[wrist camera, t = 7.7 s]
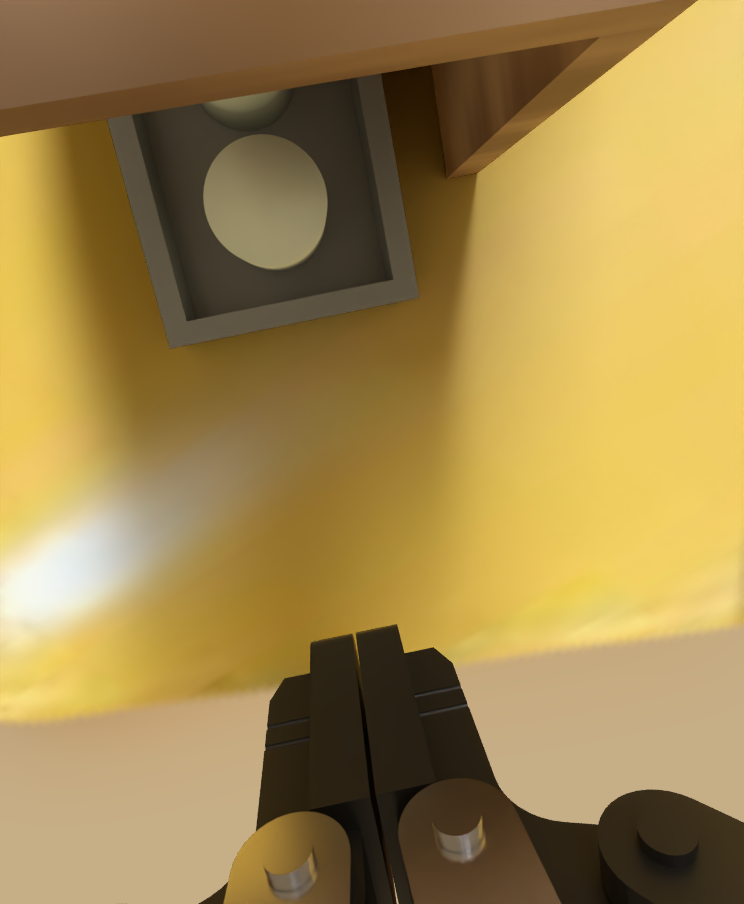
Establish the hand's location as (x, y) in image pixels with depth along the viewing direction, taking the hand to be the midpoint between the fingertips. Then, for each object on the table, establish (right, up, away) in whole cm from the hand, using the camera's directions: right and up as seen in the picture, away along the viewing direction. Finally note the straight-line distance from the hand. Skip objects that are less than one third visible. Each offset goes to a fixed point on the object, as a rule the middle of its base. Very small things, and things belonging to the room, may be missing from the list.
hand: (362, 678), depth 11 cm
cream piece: (-3, +12, +12) cm, 18 cm away
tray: (-4, +15, +13) cm, 20 cm away
